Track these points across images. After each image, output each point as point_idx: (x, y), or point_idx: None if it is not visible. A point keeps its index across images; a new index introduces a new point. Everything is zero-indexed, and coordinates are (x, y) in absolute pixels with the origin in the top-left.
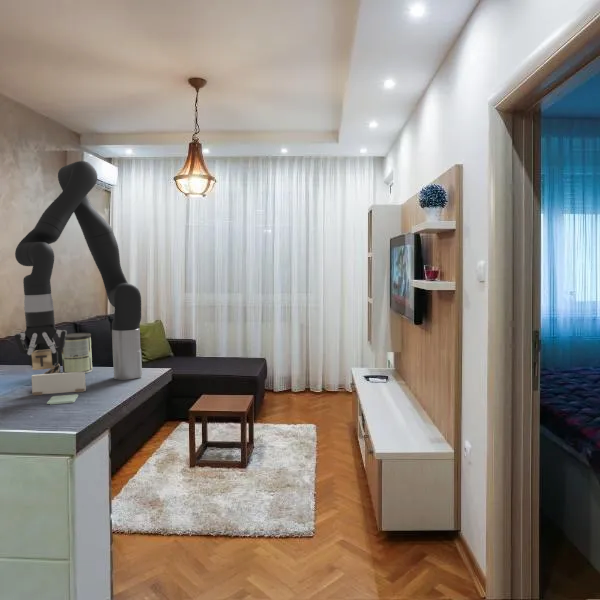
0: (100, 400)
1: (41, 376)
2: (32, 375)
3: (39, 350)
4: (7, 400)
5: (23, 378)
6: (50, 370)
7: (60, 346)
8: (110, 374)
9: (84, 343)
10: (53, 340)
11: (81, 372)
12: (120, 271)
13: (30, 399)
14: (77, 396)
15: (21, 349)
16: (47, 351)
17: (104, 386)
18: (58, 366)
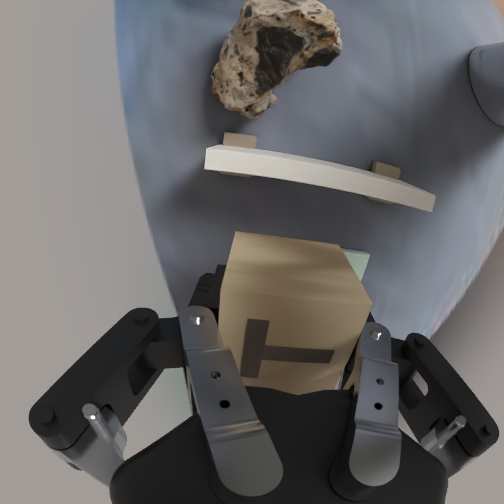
0: (401, 316)
1: (253, 174)
2: (208, 162)
3: (258, 328)
4: (148, 204)
5: None
6: (283, 31)
7: (399, 394)
8: (451, 10)
9: None
10: (393, 388)
11: (423, 209)
12: None
13: (220, 223)
14: (364, 264)
15: (137, 375)
16: (316, 379)
17: (445, 162)
18: (334, 56)
